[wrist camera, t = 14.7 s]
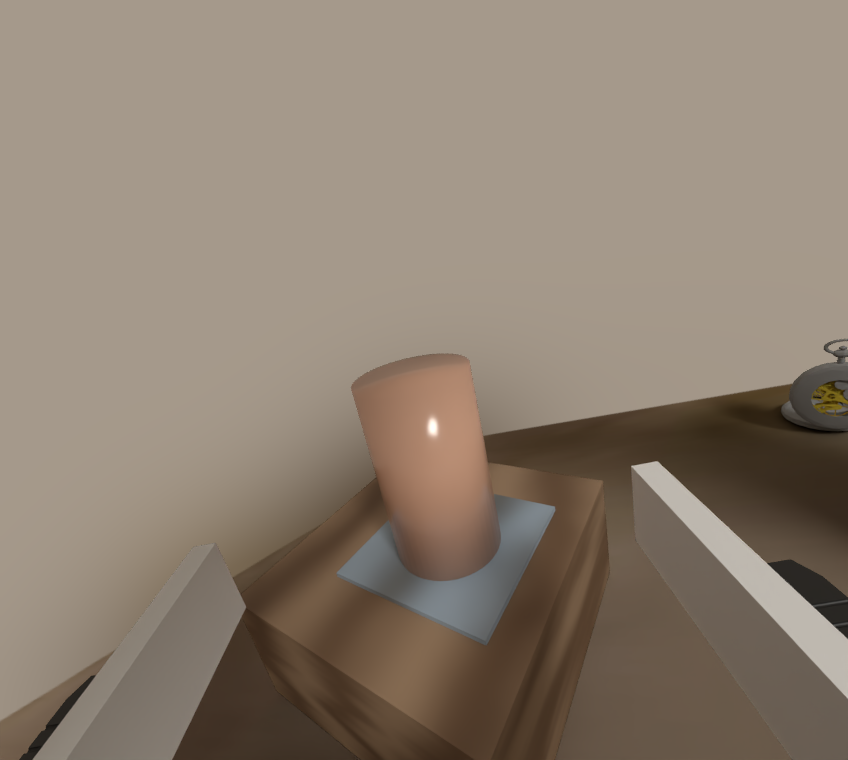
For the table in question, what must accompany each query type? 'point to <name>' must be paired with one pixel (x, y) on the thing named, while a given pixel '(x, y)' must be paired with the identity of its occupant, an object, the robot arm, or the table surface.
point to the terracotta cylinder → (431, 463)
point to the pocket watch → (821, 412)
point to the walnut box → (439, 627)
